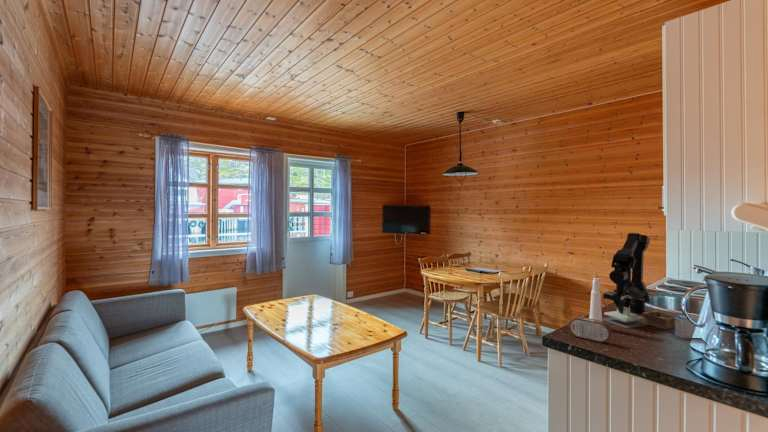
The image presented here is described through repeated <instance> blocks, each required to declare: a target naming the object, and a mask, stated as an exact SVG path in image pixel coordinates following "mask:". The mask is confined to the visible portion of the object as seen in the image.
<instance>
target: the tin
mask: <svg viewBox="0 0 768 432" xmlns="http://www.w3.org/2000/svg"><path fill="white" fill-rule="evenodd" d="M568 327H569V331H570V332H571V334H573V336H575V337H577V338H579V337H580V339H583V338H584V339H583V340H587V339H588V341H592V342H596V341H597V342H596V343H606V342H608V341H610V339H611V338H612V335H613V330H612V329H611V326H610V325H609V324H608V323H607V322H606V321H603V320H602V321H600V320H594V319H589V317H584V316H574V317H572V319H571V320H570V322H569V323H568Z"/></svg>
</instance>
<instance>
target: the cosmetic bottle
mask: <svg viewBox="0 0 768 432" xmlns="http://www.w3.org/2000/svg"><path fill="white" fill-rule="evenodd" d="M592 279H593V280H592V289H591V292H590V302H589V303H590V305H589V306H590V307H589V317H588V318H589V319H594V320H600V321H603V320H602V318H603V311H602V293H601V291H600V290H601V286H600V285H601V282H600V278H599V277H598V278H597V277H593V278H592Z"/></svg>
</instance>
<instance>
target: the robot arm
mask: <svg viewBox="0 0 768 432" xmlns="http://www.w3.org/2000/svg"><path fill="white" fill-rule="evenodd" d="M626 236H627V237H626V240H625V242H624V244H623V246H622V248H621V249H618V250H617V251H616V252H615V254H613V258H612V262H611V266H610V267H611V268H613V269H614V270H612V271H611V272H610V273H609V275H608V277H609V279H610V281H612V282H613V284H615V289H613V291H605V292H603V293H602V298H604V299H606V300H611V301H613V303H614V304H615V307H616V309H617V308H618V310H619V312H620V313H621V314H622V313H623V308H624V307H627V308H630V313H632V314H636V315H642V313H645V312H647V311H646V304H647V303H650V294H649V292H648V290H647V286H646V284H645V282H644V280H643V278H644V258H645V257H644V255H645V252H646V250H647V249H648V248H649V245H650V244H651V243H650V241H651V239H650V237H649V236H648V235H647V234H641V233H639V232H636V233H635V232H629V233H627V235H626Z"/></svg>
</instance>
